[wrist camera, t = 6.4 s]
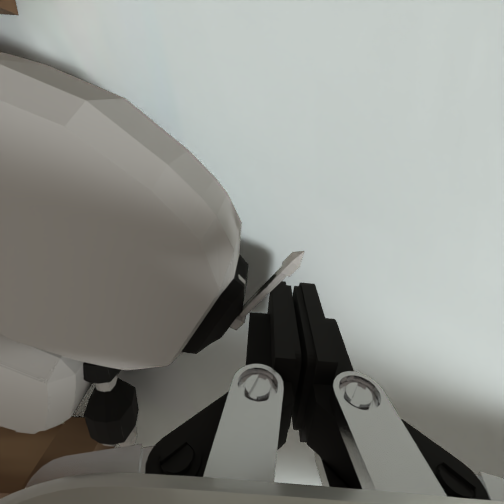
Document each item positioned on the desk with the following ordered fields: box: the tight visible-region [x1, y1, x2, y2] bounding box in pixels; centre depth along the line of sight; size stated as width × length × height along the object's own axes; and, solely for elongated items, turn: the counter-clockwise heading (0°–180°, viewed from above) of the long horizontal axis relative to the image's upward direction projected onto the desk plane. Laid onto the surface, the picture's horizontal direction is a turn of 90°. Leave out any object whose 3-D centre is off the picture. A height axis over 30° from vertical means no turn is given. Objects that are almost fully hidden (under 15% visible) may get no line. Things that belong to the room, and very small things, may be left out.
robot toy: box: [0, 52, 304, 447], centre depth 11 cm, size 12×4×15 cm
